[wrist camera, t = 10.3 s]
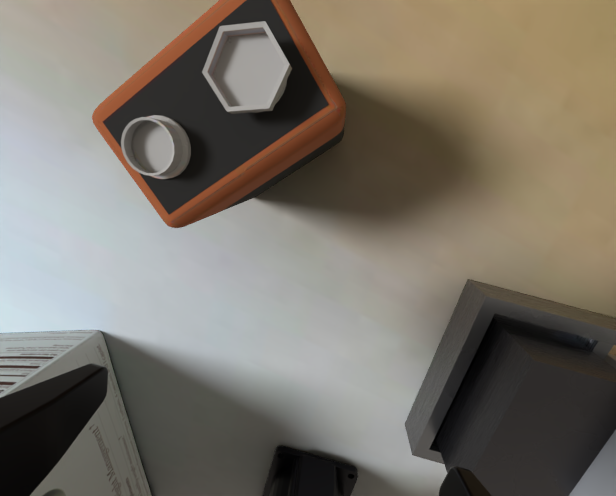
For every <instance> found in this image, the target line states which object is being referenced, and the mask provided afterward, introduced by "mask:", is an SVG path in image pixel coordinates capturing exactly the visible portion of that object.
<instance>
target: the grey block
mask: <svg viewBox="0 0 616 496" xmlns="http://www.w3.org/2000/svg"><path fill="white" fill-rule="evenodd" d="M605 361H606V362H607V363H609V364H610V365H611V366H613V367H614V368H615V369H616V356H615V355H612V354H608V355H607V356H606V358H605ZM569 496H616V430H615V431H614V433H613V434H612V436H611V437H610V438H609V440H608V441H607V443H606V444H605V445H604V447H603V448H602V450H601V451H600V453H599V454H598V455H597V457H596V458H595V460H594V461H593V462H592V464H591V465H590V467H589V468H588V469H587V471H586V472H585V474H584V475H583V476H582V478H581V479H580V481H579V482H578V483H577V485H576V486H575V488H574V489H573V490H572V492H571V493H570V495H569Z"/></svg>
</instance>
